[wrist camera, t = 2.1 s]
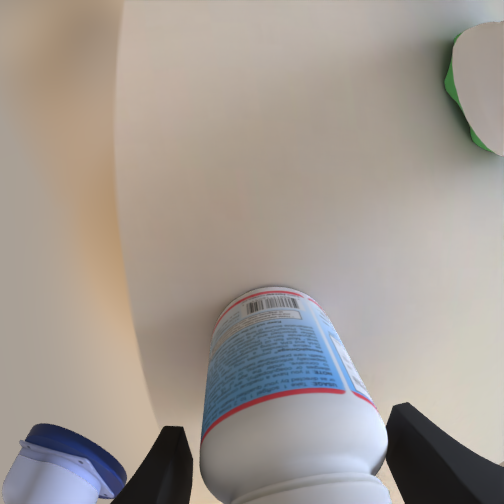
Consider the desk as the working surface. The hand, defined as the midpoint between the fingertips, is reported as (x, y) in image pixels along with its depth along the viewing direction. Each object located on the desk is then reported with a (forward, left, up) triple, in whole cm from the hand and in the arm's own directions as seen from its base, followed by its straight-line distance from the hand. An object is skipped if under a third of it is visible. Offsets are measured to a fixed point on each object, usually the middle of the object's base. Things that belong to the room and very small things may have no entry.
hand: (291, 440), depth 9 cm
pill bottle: (0, 0, -7) cm, 7 cm away
